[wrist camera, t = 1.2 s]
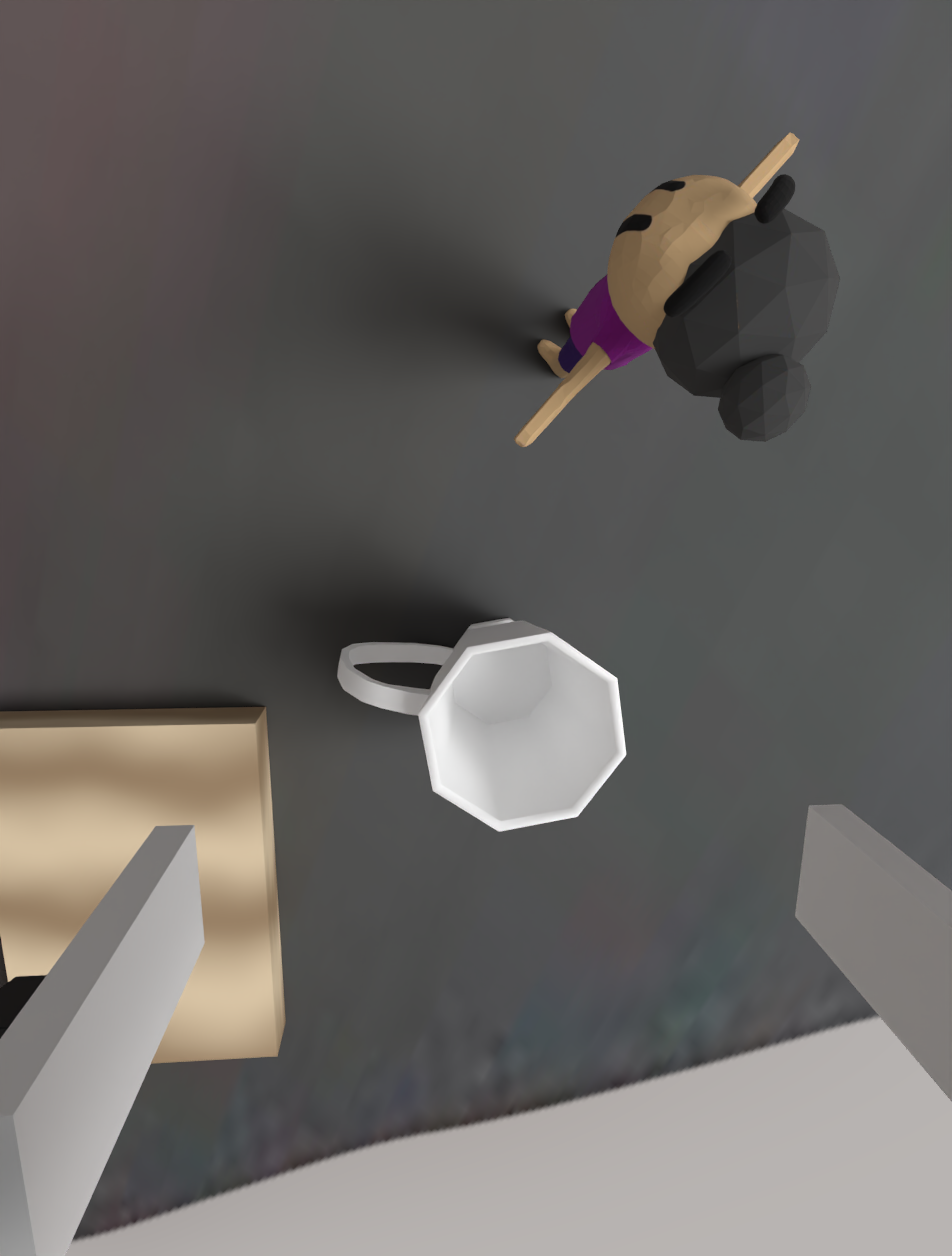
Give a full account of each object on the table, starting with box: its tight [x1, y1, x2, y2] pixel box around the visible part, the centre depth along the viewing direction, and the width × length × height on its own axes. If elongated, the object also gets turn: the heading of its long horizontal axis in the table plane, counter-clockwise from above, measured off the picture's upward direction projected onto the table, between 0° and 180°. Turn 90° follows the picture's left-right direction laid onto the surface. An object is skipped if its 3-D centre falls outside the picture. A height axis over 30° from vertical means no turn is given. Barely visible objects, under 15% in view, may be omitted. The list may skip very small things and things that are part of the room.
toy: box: [514, 133, 840, 447], centre depth 21 cm, size 10×6×15 cm, turn 137°
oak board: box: [0, 707, 285, 1063], centre depth 31 cm, size 16×11×2 cm
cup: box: [337, 618, 626, 831], centre depth 26 cm, size 7×10×8 cm
